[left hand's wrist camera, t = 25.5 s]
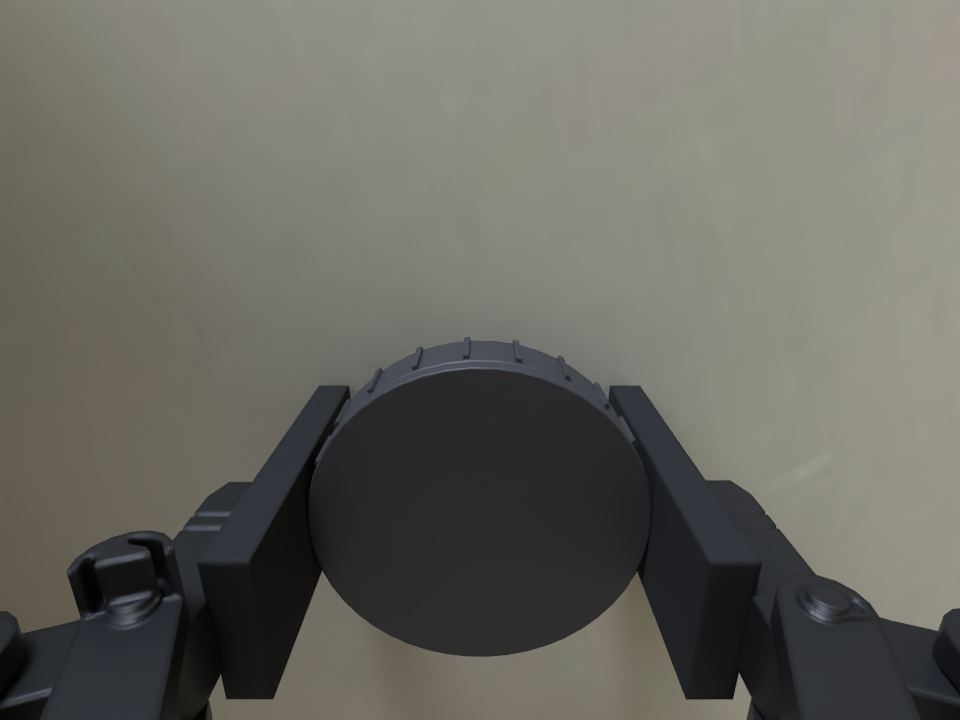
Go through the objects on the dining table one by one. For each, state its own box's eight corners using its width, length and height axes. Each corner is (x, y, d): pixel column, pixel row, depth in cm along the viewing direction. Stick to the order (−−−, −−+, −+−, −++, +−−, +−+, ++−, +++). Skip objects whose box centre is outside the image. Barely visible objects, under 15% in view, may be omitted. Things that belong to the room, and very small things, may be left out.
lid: (309, 578, 13) (287, 631, 12) (346, 304, 11) (326, 327, 9) (585, 625, 14) (598, 682, 12) (677, 372, 11) (706, 404, 10)
